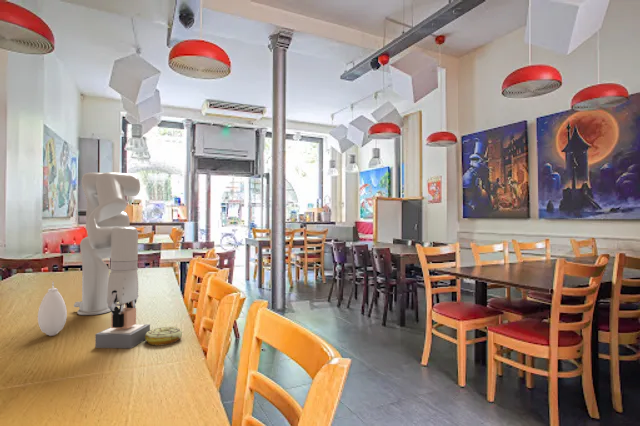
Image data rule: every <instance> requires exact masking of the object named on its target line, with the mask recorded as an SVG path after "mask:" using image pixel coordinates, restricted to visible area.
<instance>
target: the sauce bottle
mask: <svg viewBox="0 0 640 426" xmlns="http://www.w3.org/2000/svg"><path fill="white" fill-rule="evenodd" d="M37 311H38V312H37V323H38V326H39V328H40V330H41V332H42V333H44V334H45V335H46V336H50V337H52V336H56V335H57V334H58V333H60V331H62V330H63V329H64V327H65V324H66V322H67V317H68V314H67V313H68V311H67V306H66V303H65V300H64V297H63V296H62V293H60V291H59V290H58V288H56V287H55V284H54V281H52V283H51V288H48V289H47V292H46V293H45V295H44V296H43V298H42V300H41V302H40V304H39V308H38V310H37Z"/></svg>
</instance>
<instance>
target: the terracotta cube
mask: <svg viewBox="0 0 640 426" xmlns="http://www.w3.org/2000/svg"><path fill="white" fill-rule="evenodd" d="M110 312H111V311H110ZM122 314H124V327H113V315H112V312H111V314H110V315H111V320H110V321H111V322H110V325H111V326H110V327H111V328H129V327H131V326H133V325H135V324H137V308H136V307H135V308H125V307H123V313H122Z"/></svg>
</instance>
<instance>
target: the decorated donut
mask: <svg viewBox="0 0 640 426" xmlns="http://www.w3.org/2000/svg"><path fill="white" fill-rule="evenodd" d="M182 337H183V331H182V329H181V328H179V327H177V326H161V327H156V328H153V329H150V331H148V332H147V333H146V335H145V341H146V342H147V343H148V345H151V346H162V345H163V346H164V345H169V344H170V345H171V344H173V343H176V342H177V341H179V340H180V339H181V338H182Z"/></svg>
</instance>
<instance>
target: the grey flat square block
mask: <svg viewBox="0 0 640 426" xmlns="http://www.w3.org/2000/svg"><path fill="white" fill-rule="evenodd" d="M150 330H151V324H145V323H144V324H142V323H139V324H138V323H136V324H135V325H133V326H131V327H129V328H111V326H110V327H108V328H106V329H103V330H101V331H99V332H97V333H95V337H94V338H95V339H94V341H95V344H94V346H95V349H97V348H98V349H132V348H133V347H136V346H137V345H138V344H141V343H142V342H144V341H146V339H145V335H146V333H147V332H148V331H150Z"/></svg>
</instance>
